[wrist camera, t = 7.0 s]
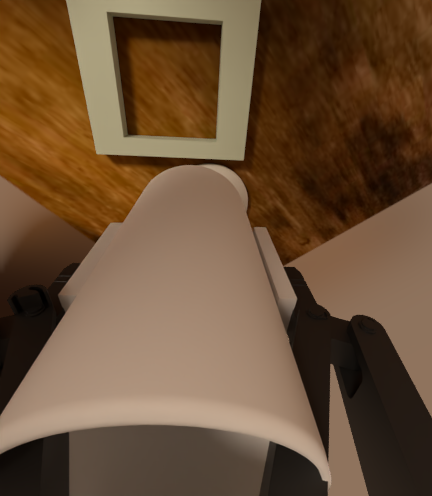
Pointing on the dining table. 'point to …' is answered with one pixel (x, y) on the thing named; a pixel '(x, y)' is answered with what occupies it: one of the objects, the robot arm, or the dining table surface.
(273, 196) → the dining table surface
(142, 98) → the dining table surface
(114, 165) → the dining table surface
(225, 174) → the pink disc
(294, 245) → the dining table surface
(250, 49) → the pale green rectangular frame
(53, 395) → the cup
